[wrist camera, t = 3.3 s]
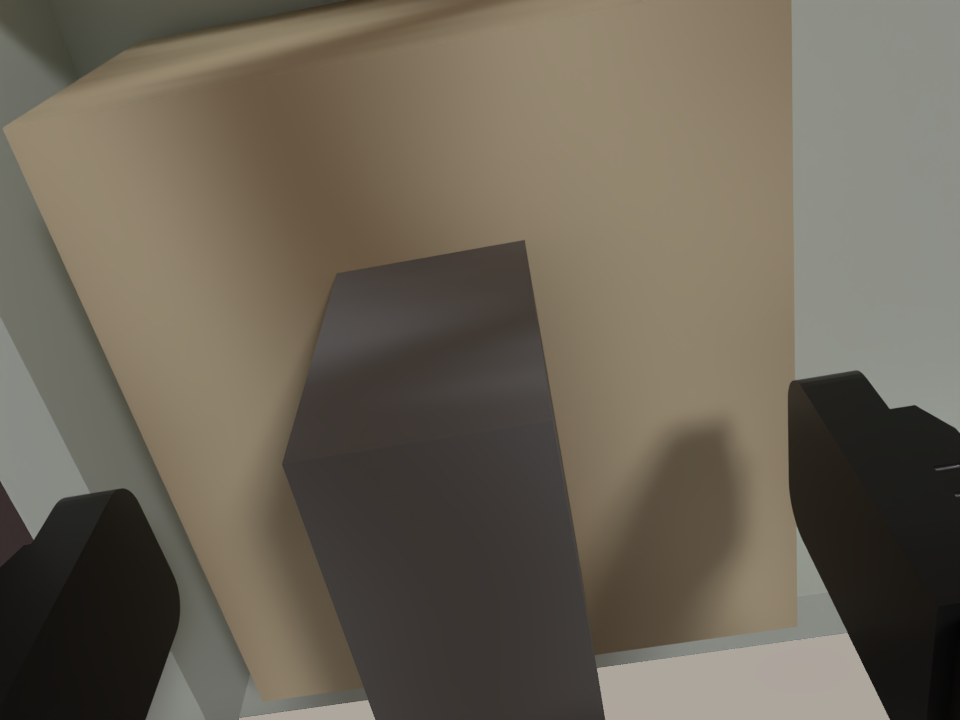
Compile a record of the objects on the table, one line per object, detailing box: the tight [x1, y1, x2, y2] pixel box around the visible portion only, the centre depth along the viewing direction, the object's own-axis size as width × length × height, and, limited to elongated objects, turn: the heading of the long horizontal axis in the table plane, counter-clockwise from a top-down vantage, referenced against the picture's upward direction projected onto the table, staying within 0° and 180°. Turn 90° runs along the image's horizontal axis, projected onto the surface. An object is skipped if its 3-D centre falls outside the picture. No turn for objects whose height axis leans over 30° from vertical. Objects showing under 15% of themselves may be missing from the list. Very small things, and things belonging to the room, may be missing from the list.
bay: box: [0, 0, 960, 720], centre depth 15 cm, size 26×16×6 cm, turn 100°
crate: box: [2, 0, 797, 720], centre depth 13 cm, size 9×10×9 cm
